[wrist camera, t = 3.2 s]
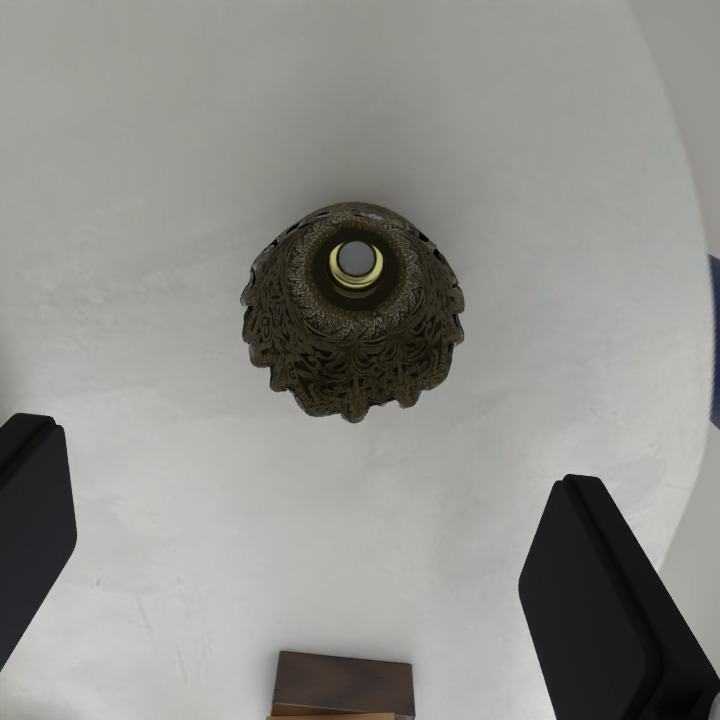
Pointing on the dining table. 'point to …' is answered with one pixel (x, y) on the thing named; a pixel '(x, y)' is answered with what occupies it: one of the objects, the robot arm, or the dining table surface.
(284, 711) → the block stack
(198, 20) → the dining table surface
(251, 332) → the dark bronze dome
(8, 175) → the dining table surface
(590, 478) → the robot arm
